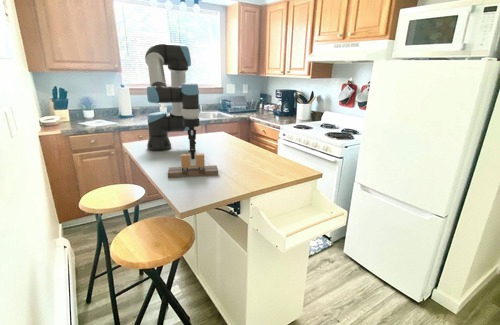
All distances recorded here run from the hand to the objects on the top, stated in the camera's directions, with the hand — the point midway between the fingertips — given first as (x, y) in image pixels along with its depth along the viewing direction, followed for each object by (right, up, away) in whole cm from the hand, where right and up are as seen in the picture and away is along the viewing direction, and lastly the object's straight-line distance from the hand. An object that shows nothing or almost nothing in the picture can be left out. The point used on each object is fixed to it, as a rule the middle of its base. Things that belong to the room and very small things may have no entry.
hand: (192, 160), depth 132 cm
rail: (0, -6, +2) cm, 7 cm away
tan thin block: (0, -6, +2) cm, 7 cm away
